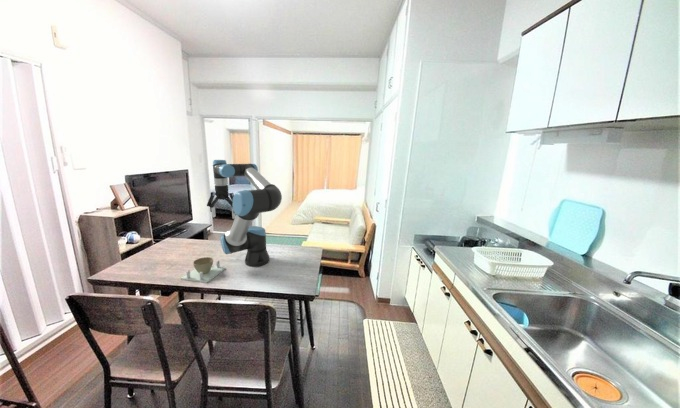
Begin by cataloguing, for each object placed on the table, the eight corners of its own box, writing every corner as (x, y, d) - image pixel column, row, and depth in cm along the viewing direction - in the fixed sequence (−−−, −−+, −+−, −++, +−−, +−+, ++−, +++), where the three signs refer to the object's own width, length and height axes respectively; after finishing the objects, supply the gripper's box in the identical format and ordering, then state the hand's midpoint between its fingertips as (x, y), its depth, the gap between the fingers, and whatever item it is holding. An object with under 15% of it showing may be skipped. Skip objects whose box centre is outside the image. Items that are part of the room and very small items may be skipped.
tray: (225, 268, 144) (224, 261, 143) (207, 282, 128) (206, 274, 127) (201, 266, 146) (201, 258, 145) (181, 279, 131) (180, 271, 130)
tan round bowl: (205, 277, 131) (204, 265, 130) (190, 275, 133) (188, 263, 132) (218, 269, 141) (217, 258, 139) (203, 267, 143) (202, 256, 141)
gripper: (243, 184, 150) (245, 216, 155) (206, 183, 152) (209, 215, 157) (237, 186, 143) (239, 220, 147) (198, 184, 145) (201, 218, 149)
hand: (224, 217), depth 152 cm, fingers open, 13 cm apart
